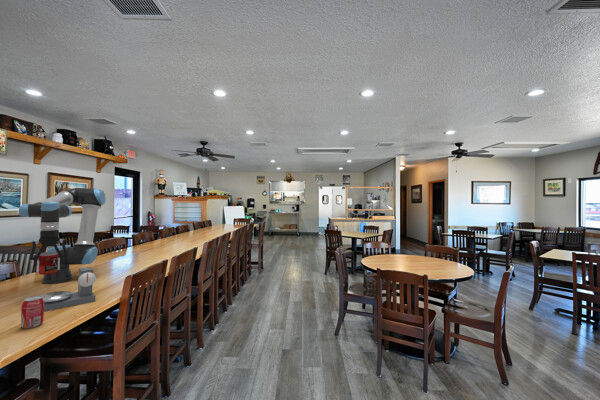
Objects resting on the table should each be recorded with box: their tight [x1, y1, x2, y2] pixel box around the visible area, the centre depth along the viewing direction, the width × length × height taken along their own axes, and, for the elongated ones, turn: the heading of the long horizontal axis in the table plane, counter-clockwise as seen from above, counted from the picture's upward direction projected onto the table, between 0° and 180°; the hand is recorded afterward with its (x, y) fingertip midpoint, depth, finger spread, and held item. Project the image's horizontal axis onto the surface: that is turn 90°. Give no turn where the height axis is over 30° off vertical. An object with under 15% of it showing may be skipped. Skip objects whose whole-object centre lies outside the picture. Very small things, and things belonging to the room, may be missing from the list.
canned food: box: [38, 251, 58, 276], centre depth 146 cm, size 8×8×11 cm
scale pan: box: [39, 290, 73, 302], centre depth 138 cm, size 14×14×2 cm
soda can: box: [20, 295, 45, 329], centre depth 116 cm, size 7×7×12 cm
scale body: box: [44, 266, 97, 313], centre depth 141 cm, size 14×24×17 cm, turn 138°
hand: (48, 270), depth 146 cm, fingers closed on canned food, 8 cm apart
